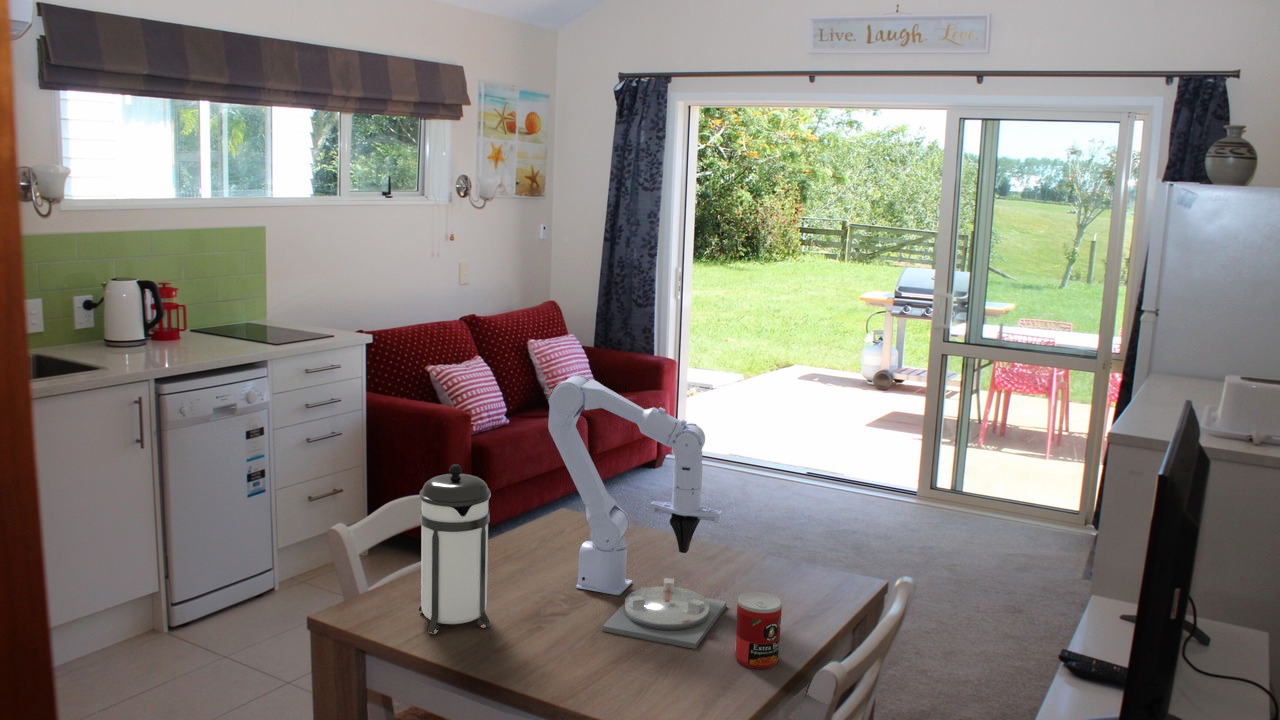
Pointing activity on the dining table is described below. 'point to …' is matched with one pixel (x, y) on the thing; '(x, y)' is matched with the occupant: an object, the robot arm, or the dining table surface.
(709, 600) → the slate base plate
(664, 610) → the round dial
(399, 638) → the dining table surface
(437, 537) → the coffee press
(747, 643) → the canned food
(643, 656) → the dining table surface
